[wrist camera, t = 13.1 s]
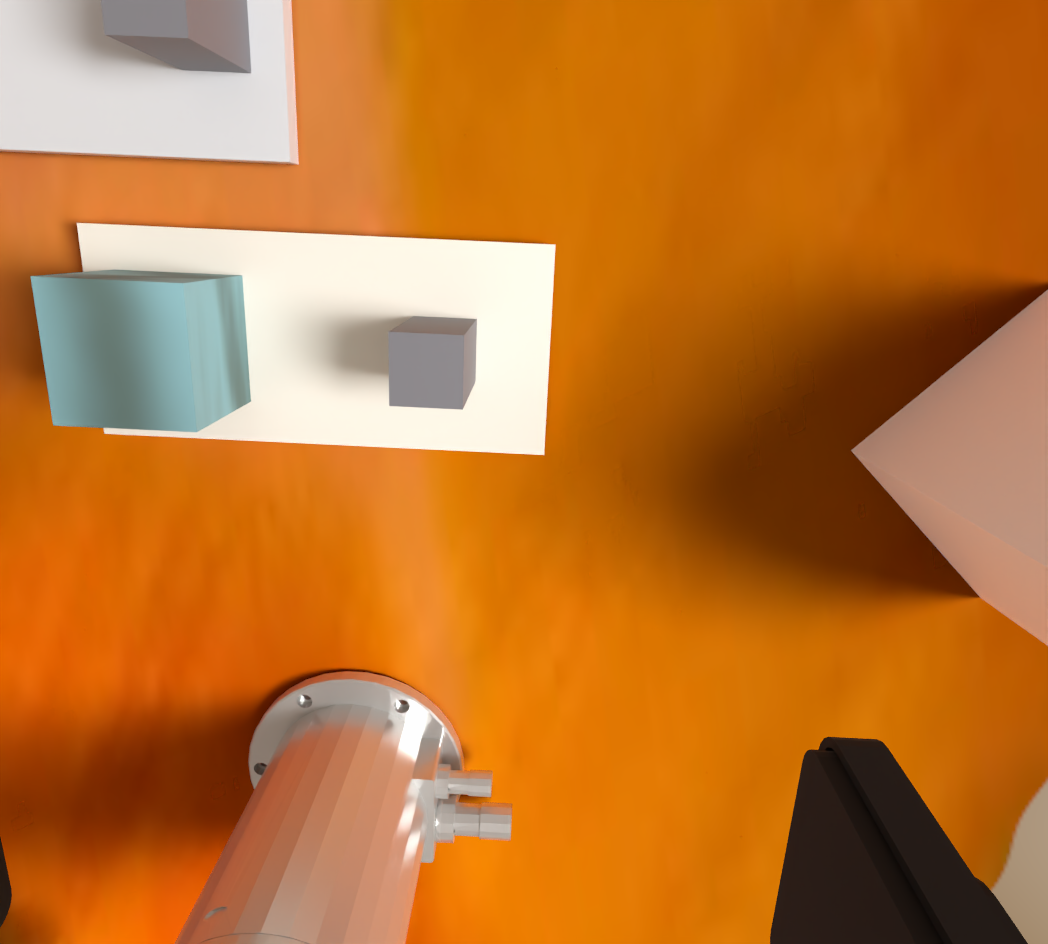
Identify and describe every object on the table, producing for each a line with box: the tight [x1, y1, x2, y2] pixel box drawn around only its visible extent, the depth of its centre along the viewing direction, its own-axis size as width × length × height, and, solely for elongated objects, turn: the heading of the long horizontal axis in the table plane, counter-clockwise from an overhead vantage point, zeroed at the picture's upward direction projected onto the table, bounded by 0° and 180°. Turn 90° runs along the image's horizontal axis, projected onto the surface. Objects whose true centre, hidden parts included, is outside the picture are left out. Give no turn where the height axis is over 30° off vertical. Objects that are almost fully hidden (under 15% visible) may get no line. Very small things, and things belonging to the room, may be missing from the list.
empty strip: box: [0, 0, 299, 165], centre depth 30 cm, size 18×10×7 cm, turn 88°
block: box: [31, 269, 251, 432], centre depth 33 cm, size 6×6×6 cm
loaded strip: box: [77, 223, 555, 455], centre depth 33 cm, size 22×10×7 cm, turn 88°
